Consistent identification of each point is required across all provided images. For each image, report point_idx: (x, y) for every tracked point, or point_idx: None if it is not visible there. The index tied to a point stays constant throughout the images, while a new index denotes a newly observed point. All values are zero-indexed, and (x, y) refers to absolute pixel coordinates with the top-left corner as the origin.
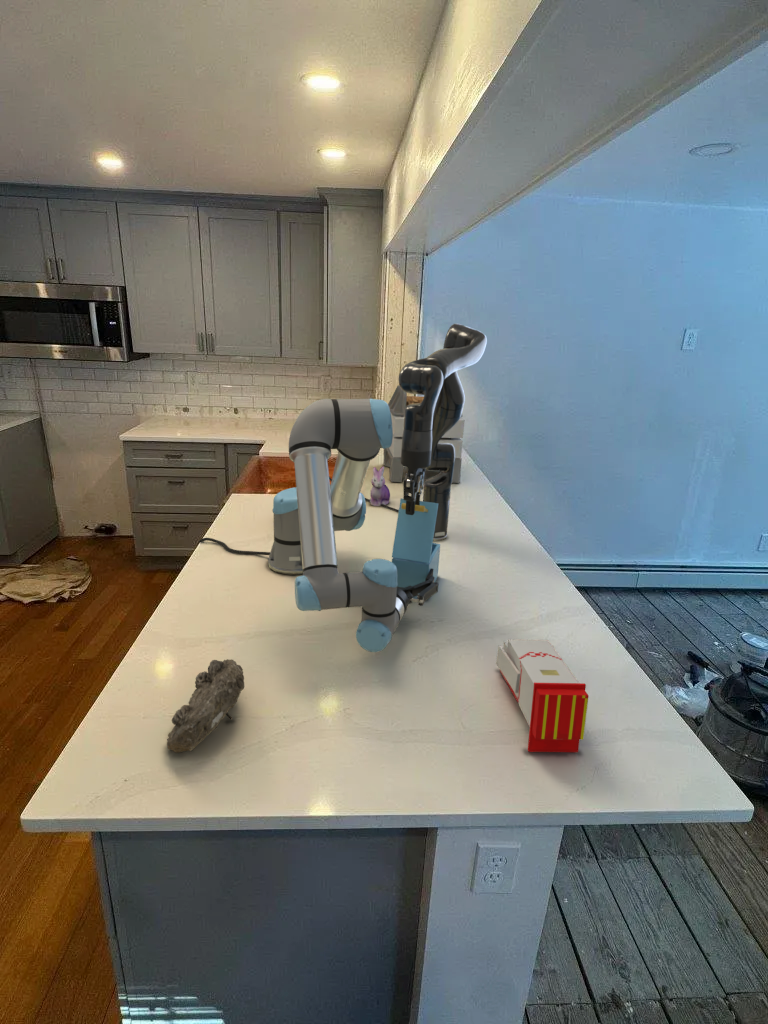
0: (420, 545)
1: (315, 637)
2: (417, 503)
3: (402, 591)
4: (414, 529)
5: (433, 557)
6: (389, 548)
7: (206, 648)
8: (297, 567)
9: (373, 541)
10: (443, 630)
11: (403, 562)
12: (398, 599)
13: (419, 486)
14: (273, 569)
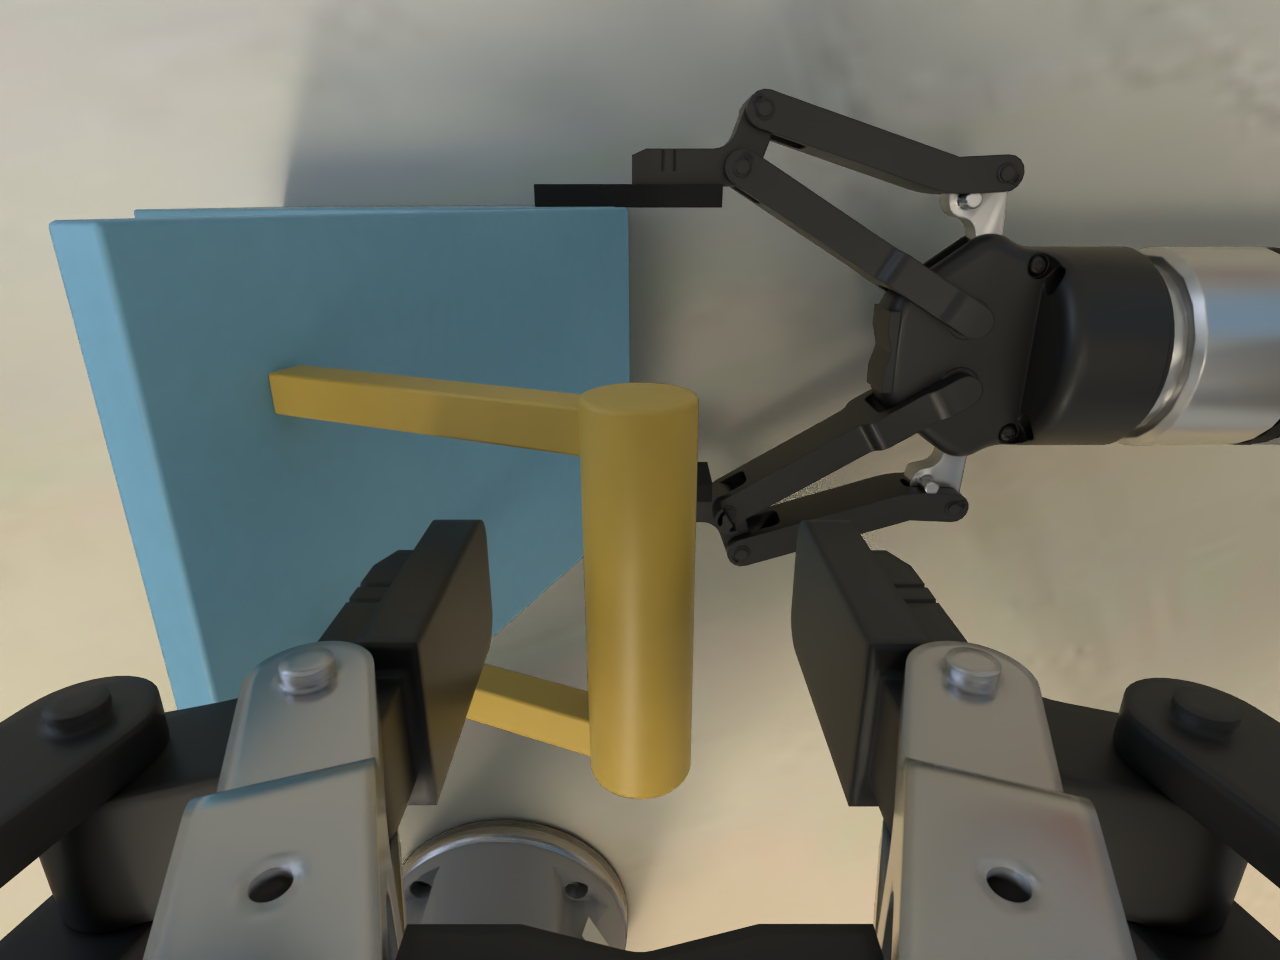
0: (565, 325)
1: (1124, 611)
2: (464, 578)
3: (1095, 302)
4: (486, 445)
5: (439, 208)
6: (67, 583)
7: (1249, 899)
8: (603, 892)
9: (36, 687)
10: (941, 18)
11: None
12: (1219, 298)
13: (384, 844)
14: None
